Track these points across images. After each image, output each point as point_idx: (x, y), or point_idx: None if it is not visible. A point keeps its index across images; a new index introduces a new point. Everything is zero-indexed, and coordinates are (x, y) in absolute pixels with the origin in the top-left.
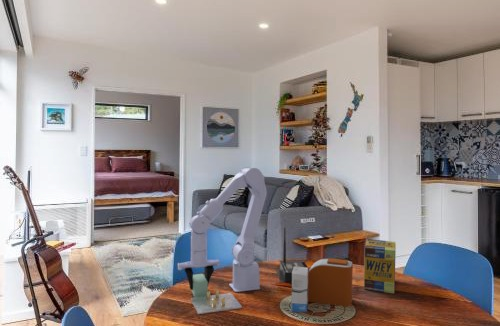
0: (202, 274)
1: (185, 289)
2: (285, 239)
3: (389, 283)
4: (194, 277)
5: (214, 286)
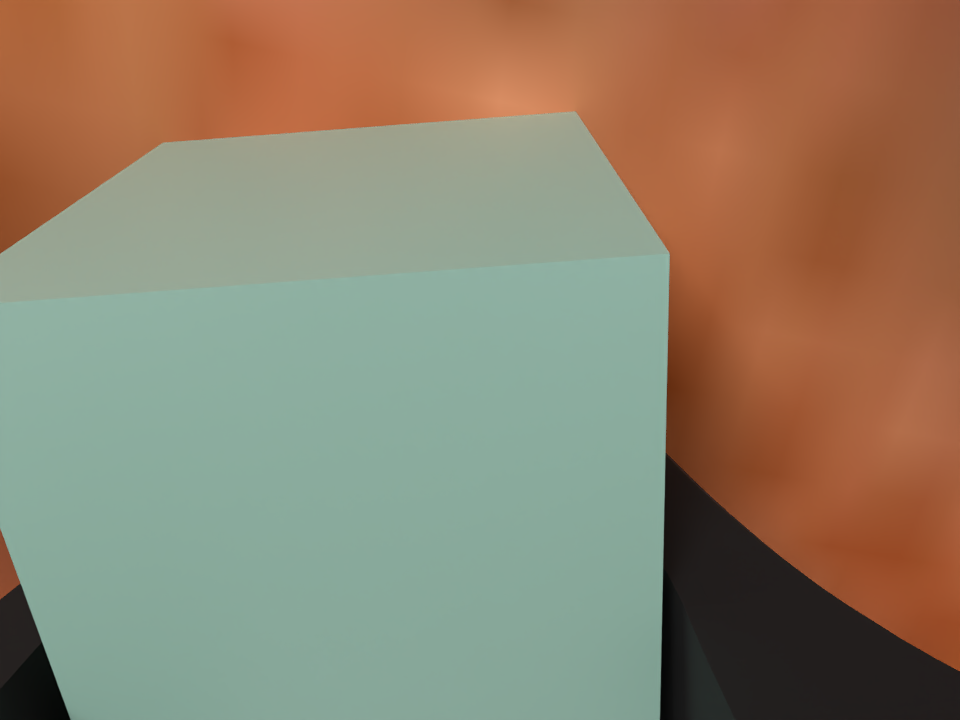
0: (617, 369)
1: (16, 214)
2: None
3: None
4: (188, 694)
5: (947, 141)
